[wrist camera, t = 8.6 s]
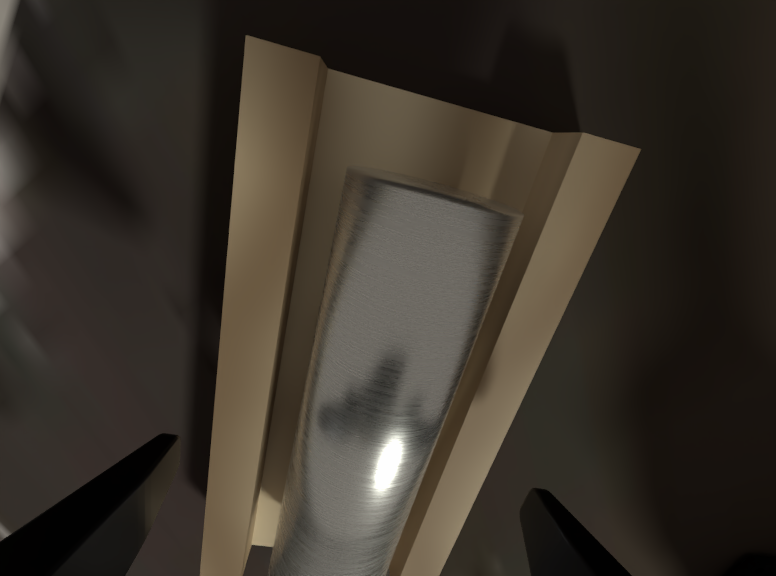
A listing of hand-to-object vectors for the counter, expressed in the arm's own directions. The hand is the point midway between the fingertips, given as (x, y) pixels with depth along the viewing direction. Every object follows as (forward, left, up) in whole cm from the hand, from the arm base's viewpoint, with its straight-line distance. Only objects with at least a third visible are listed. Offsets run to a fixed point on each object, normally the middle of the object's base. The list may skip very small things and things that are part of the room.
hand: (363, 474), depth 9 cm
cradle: (0, 0, -5) cm, 5 cm away
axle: (0, 0, -4) cm, 4 cm away
